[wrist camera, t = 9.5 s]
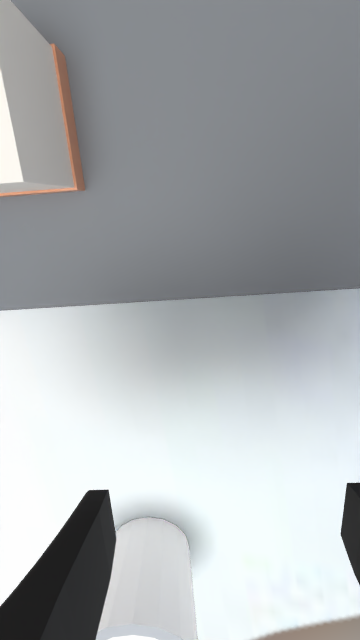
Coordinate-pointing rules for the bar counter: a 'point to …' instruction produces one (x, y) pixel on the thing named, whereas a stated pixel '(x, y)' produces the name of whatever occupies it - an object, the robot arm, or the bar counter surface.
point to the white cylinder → (149, 585)
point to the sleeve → (34, 112)
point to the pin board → (196, 154)
